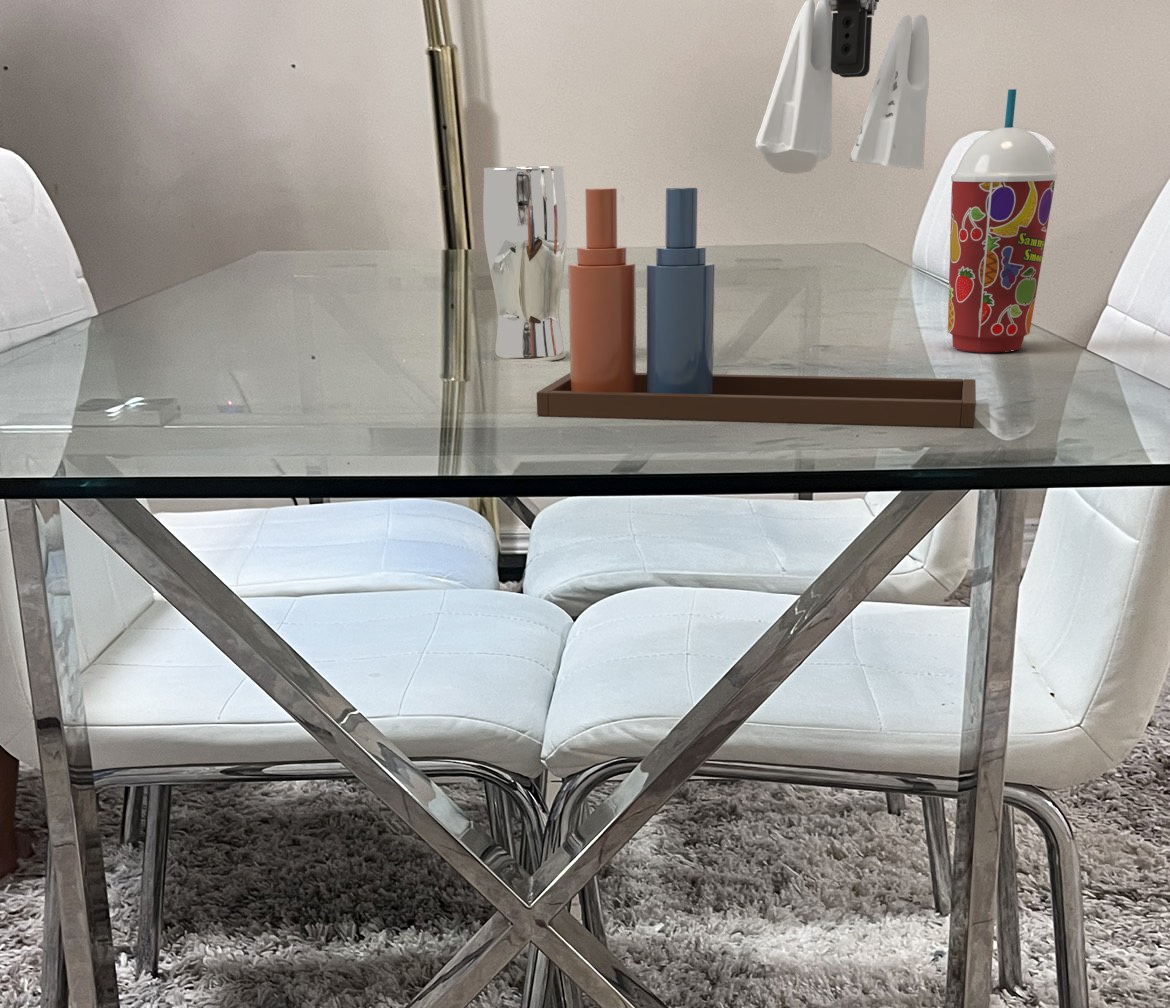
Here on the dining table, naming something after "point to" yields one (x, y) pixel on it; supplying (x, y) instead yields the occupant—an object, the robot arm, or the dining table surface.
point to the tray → (780, 401)
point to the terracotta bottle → (602, 303)
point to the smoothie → (998, 237)
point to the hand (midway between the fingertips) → (850, 74)
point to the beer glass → (526, 258)
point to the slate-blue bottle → (680, 304)
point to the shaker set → (805, 98)
